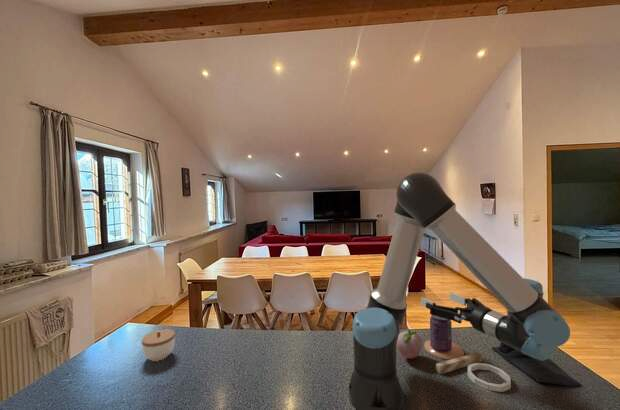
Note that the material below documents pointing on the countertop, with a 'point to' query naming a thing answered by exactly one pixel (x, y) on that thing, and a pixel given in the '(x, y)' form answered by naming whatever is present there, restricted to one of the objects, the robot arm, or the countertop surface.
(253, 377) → the countertop surface
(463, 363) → the wooden bar
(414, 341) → the decorative fruit
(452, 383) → the countertop surface
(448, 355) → the coaster
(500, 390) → the ring
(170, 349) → the lidded jar
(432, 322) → the beverage can
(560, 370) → the dark slate chunk
